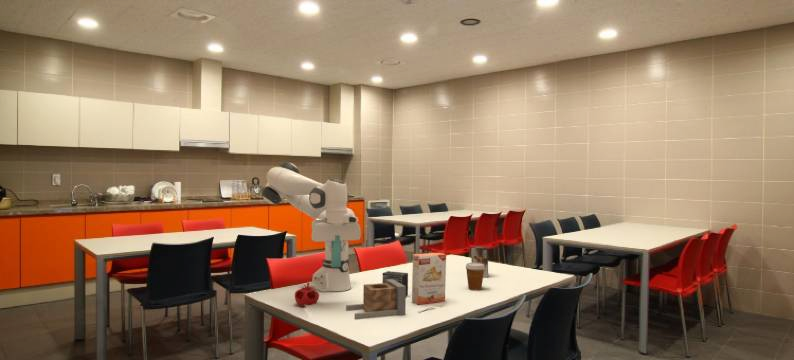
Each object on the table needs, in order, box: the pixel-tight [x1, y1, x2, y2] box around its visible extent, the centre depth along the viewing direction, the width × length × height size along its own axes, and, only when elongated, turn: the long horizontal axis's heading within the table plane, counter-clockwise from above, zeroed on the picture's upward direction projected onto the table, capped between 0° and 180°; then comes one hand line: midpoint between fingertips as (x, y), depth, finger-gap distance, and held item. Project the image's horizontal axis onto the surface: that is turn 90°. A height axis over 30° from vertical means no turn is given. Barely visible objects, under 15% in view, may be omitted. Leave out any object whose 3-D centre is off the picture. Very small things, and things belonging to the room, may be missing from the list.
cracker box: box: [411, 252, 447, 305], centre depth 212 cm, size 14×6×21 cm, turn 117°
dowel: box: [331, 235, 341, 267], centre depth 201 cm, size 4×4×13 cm
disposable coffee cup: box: [465, 262, 485, 291], centre depth 237 cm, size 10×10×12 cm
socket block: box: [362, 282, 396, 312], centre depth 192 cm, size 10×10×10 cm
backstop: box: [345, 279, 407, 320], centre depth 190 cm, size 25×14×12 cm, turn 111°
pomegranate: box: [294, 282, 320, 307], centre depth 205 cm, size 10×10×9 cm
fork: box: [417, 301, 448, 314], centre depth 199 cm, size 3×24×2 cm, turn 136°
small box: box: [382, 270, 409, 297], centre depth 222 cm, size 11×6×10 cm, turn 65°
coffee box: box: [470, 245, 489, 279], centre depth 267 cm, size 9×6×16 cm
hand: (336, 251), depth 201 cm, fingers closed on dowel, 4 cm apart
